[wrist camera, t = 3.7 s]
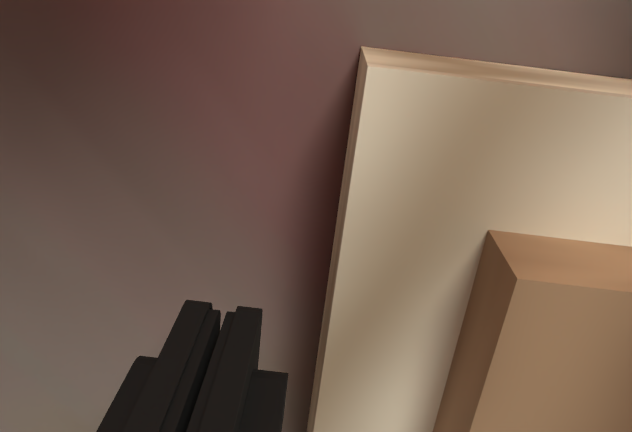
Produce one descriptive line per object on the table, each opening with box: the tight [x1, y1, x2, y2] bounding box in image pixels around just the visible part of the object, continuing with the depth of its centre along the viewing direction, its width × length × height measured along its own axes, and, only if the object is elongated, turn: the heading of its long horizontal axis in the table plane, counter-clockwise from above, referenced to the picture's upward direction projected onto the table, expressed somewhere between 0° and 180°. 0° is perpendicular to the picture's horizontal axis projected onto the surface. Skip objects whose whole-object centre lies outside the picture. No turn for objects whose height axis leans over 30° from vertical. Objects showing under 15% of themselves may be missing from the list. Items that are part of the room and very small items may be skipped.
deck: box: [307, 46, 632, 432], centre depth 14 cm, size 16×13×3 cm
